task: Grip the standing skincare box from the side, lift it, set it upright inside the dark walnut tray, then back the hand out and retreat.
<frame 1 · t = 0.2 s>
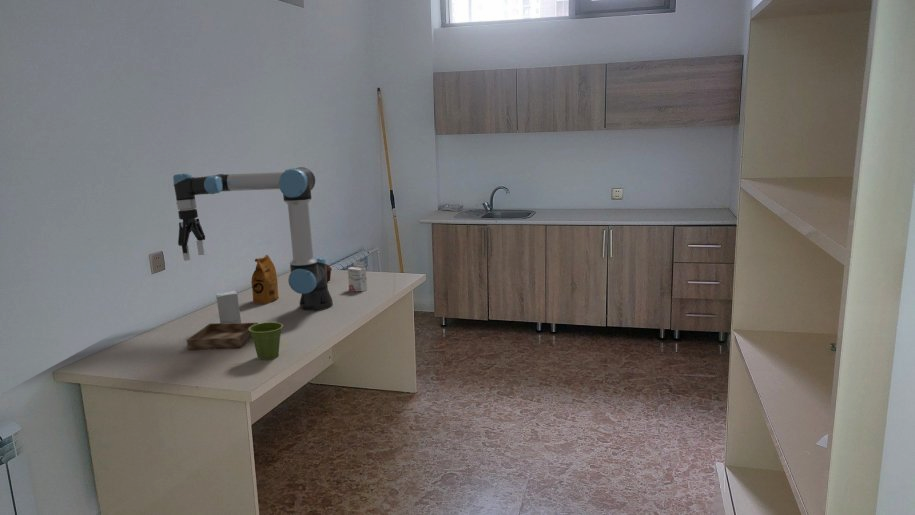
hand: (194, 257, 267), 27 cm above the table, tool pointing down, fingers open, 13 cm apart
coffee package: (266, 301, 297), on the table
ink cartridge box: (358, 290, 312), on the table
plant pot: (268, 357, 219), on the table
muffin: (322, 281, 333), on the table
skincare box: (230, 327, 256), on the table
walnut tray: (224, 340, 239), on the table
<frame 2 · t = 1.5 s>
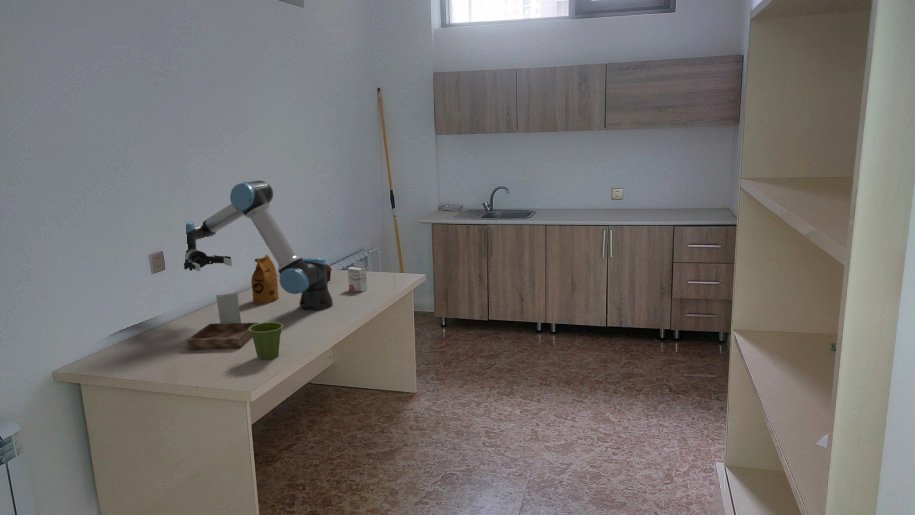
hand: (215, 265, 258), 25 cm above the table, tool horizontal, fingers open, 13 cm apart
nothing on the table moved.
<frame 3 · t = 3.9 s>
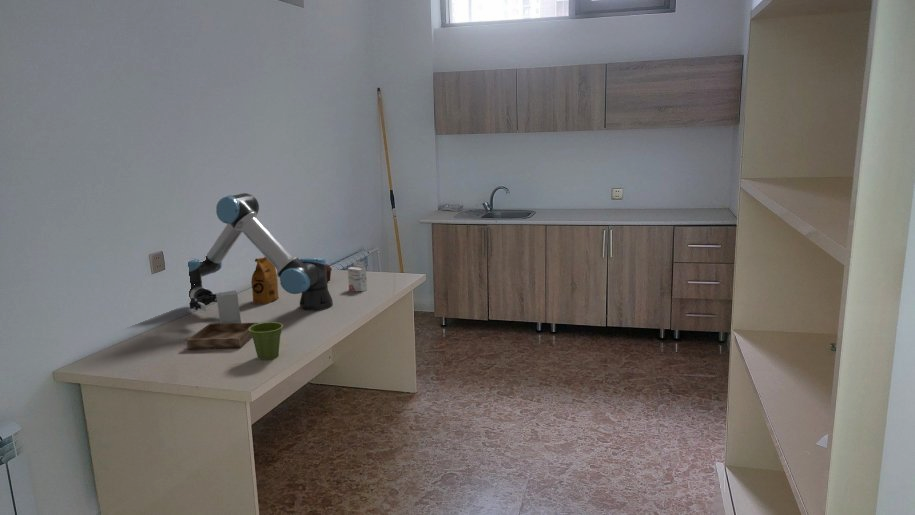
hand: (220, 304, 260), 8 cm above the table, tool horizontal, fingers open, 13 cm apart
nothing on the table moved.
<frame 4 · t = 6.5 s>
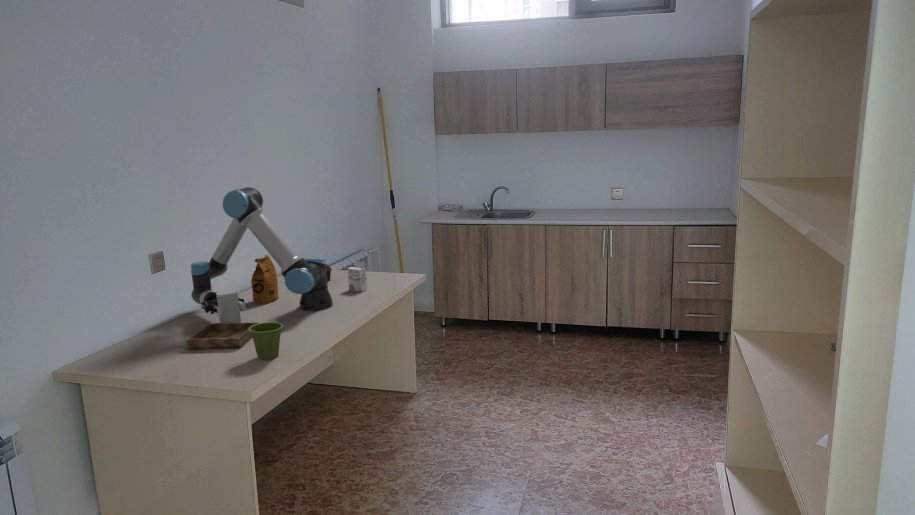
hand: (232, 309, 251), 9 cm above the table, tool horizontal, fingers closed on skincare box, 9 cm apart
skincare box: (230, 327, 256), on the table, touching gripper
everything else where it was.
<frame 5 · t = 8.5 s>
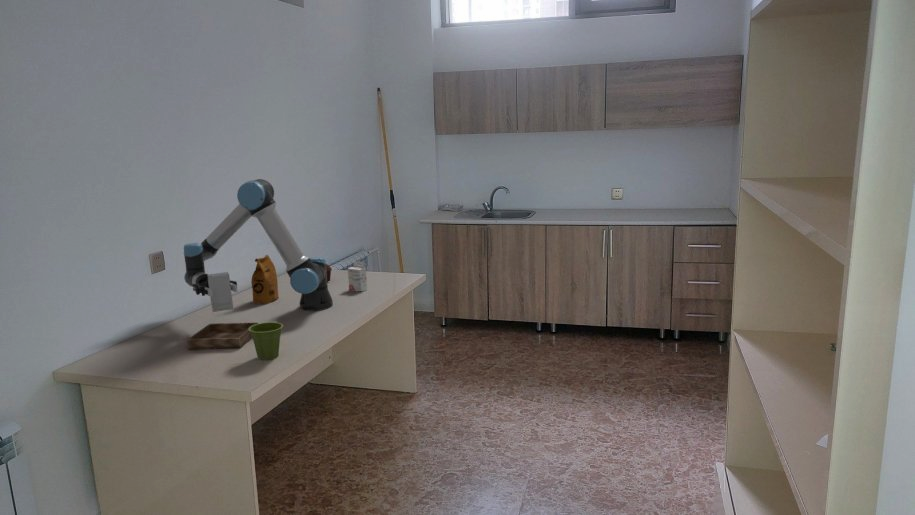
hand: (224, 291, 243), 18 cm above the table, tool horizontal, fingers closed on skincare box, 9 cm apart
skincare box: (222, 309, 248), point 9 cm above the table, touching gripper
everything else where it was.
when the fingers open (11 cm above the table, at t = 11.0 s): skincare box drops 1 cm, resting on walnut tray.
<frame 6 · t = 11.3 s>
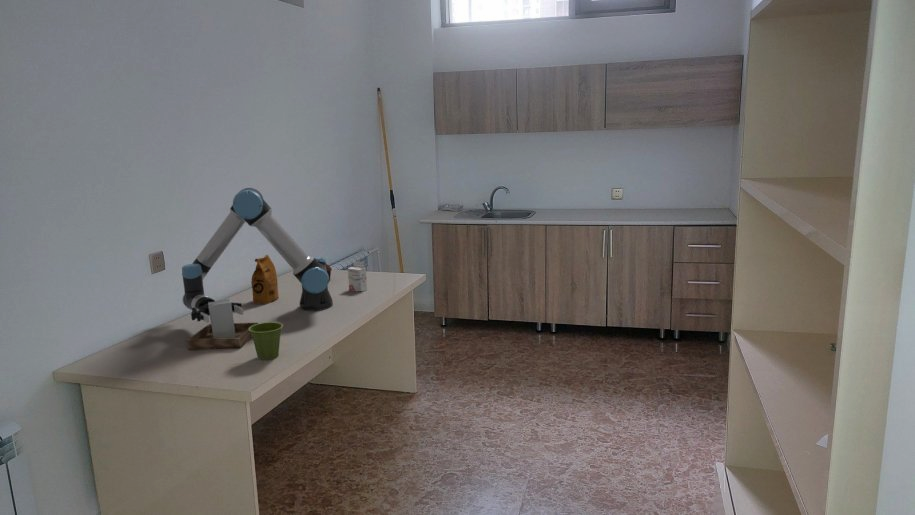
hand: (225, 315, 234), 11 cm above the table, tool horizontal, fingers open, 13 cm apart
skincare box: (224, 338, 238), point 1 cm above the table, touching walnut tray
everything else where it was.
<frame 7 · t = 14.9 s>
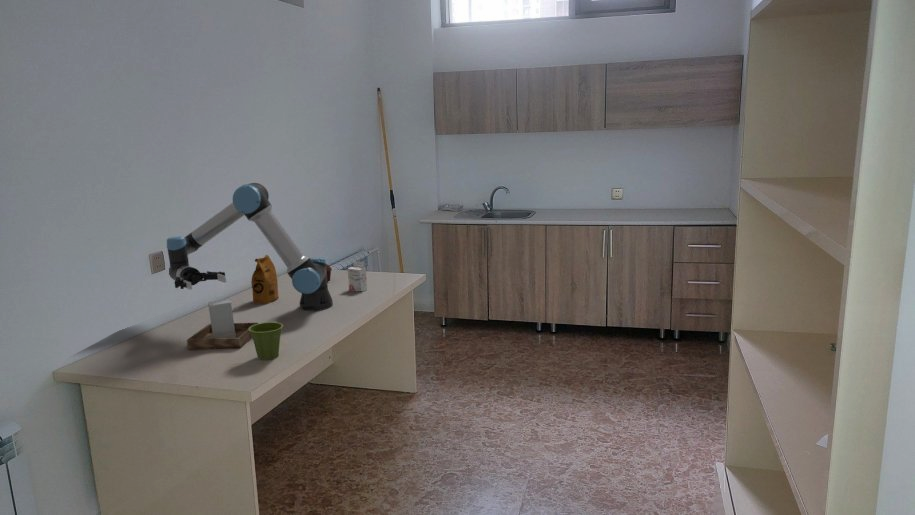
hand: (208, 282, 241), 22 cm above the table, tool horizontal, fingers open, 13 cm apart
nothing on the table moved.
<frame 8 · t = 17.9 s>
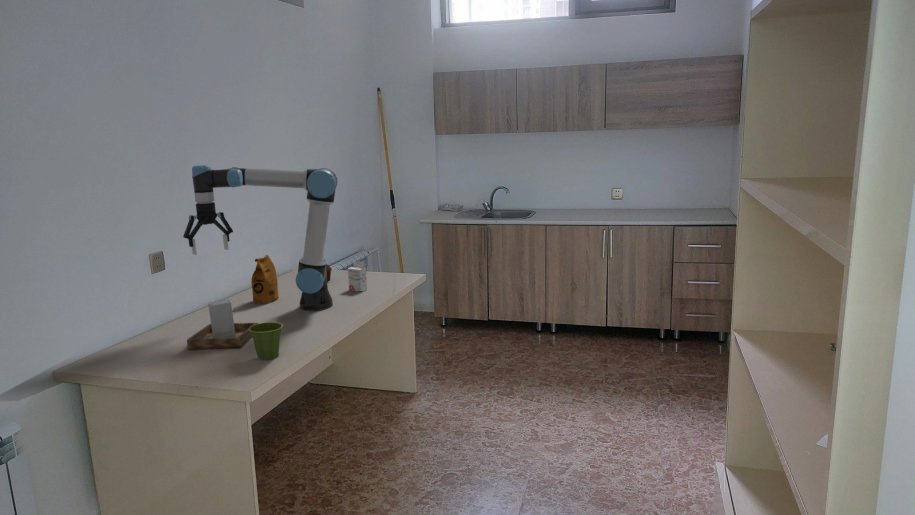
hand: (210, 251, 260), 31 cm above the table, tool pointing down, fingers open, 13 cm apart
nothing on the table moved.
at the end: skincare box inside the target area on the walnut tray (0.2 cm from its centre), point 0.8 cm above the walnut tray's base; skincare box tilted 0°; the gripper is holding nothing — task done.
